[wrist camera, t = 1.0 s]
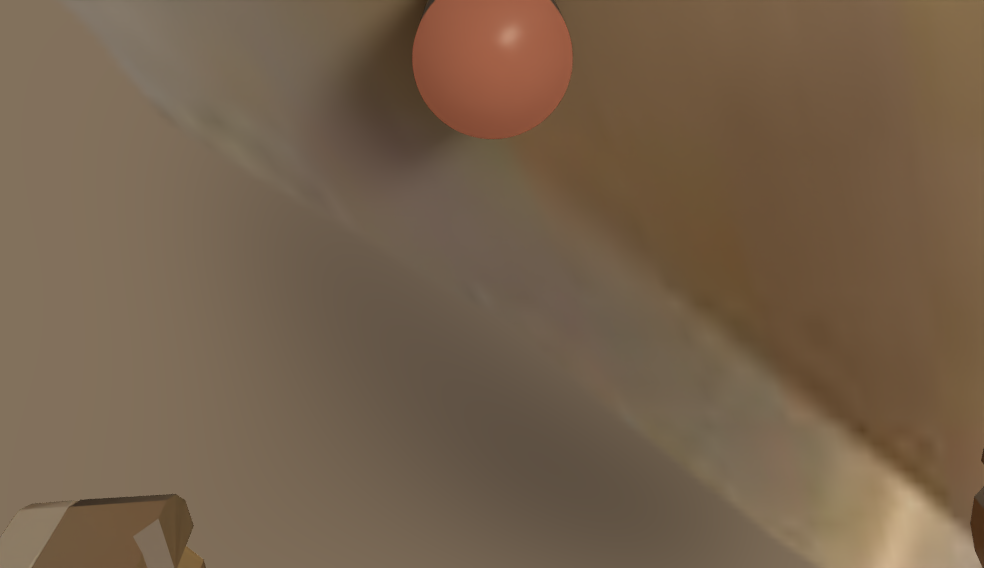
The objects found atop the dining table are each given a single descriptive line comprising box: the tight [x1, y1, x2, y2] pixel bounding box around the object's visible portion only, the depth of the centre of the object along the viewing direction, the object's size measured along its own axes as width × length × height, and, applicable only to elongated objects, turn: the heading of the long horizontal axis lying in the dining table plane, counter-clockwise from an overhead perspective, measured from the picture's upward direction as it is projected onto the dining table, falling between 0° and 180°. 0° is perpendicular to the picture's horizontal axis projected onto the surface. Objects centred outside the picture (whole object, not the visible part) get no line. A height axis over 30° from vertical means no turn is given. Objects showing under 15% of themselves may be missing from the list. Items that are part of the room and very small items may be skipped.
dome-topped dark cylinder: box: [412, 0, 573, 139], centre depth 30 cm, size 5×5×8 cm
